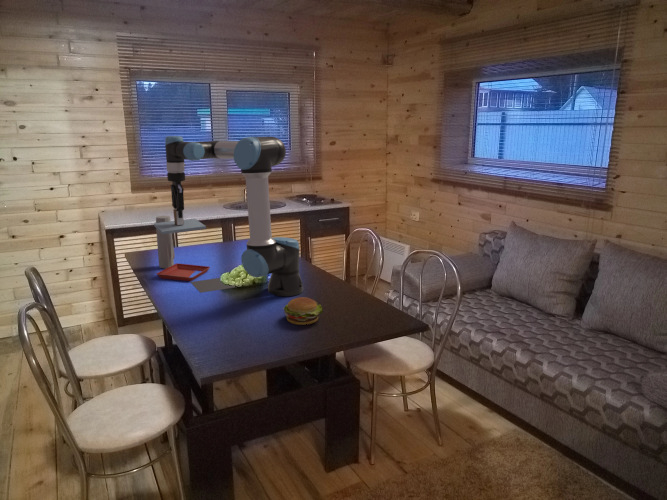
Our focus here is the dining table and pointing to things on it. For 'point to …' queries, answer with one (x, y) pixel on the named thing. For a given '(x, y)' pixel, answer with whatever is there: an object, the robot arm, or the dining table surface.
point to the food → (302, 311)
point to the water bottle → (165, 245)
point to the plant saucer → (182, 272)
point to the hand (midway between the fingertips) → (179, 223)
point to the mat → (210, 285)
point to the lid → (174, 228)
